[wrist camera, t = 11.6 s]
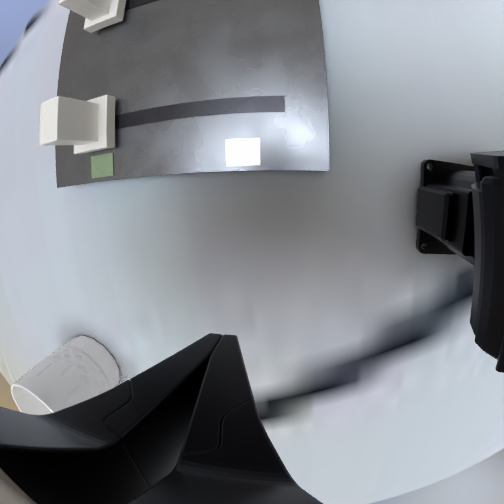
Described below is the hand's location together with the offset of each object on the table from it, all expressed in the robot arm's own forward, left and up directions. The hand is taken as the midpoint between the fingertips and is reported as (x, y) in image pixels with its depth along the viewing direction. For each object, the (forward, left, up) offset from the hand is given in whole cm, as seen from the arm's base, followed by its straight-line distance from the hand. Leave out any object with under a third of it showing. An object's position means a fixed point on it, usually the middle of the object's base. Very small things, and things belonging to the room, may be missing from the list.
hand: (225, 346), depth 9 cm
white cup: (+18, +13, -12) cm, 25 cm away
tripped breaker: (+11, -9, -10) cm, 17 cm away
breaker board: (+6, -14, -12) cm, 19 cm away
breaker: (+11, -19, -10) cm, 24 cm away
